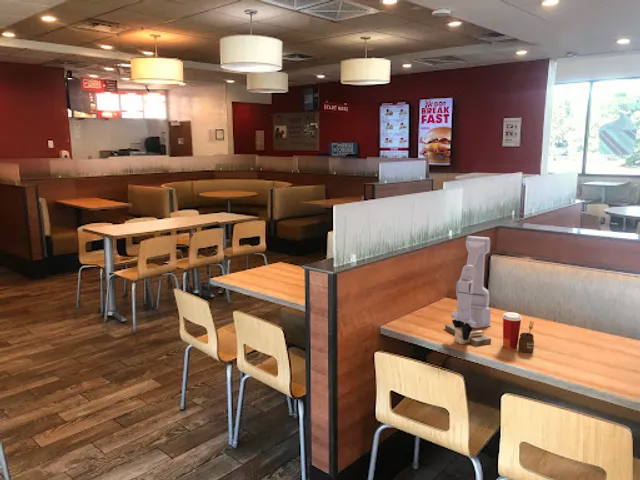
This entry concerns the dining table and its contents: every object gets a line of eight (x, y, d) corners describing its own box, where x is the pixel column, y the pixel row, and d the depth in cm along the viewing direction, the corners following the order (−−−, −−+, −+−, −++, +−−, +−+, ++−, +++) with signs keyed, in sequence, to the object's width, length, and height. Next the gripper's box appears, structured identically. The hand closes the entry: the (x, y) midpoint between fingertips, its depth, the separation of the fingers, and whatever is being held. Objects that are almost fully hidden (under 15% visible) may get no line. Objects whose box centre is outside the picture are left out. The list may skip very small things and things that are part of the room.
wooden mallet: (479, 336, 226) (480, 323, 225) (485, 339, 222) (486, 326, 221) (454, 340, 221) (455, 327, 220) (460, 344, 217) (461, 330, 216)
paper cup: (520, 344, 217) (522, 313, 215) (519, 351, 211) (521, 318, 208) (501, 341, 221) (503, 310, 218) (499, 348, 214) (501, 316, 211)
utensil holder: (515, 350, 212) (517, 322, 210) (523, 346, 215) (525, 319, 213) (528, 354, 207) (530, 326, 205) (536, 350, 211) (538, 323, 209)
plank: (459, 326, 240) (459, 322, 239) (490, 343, 219) (491, 338, 219) (445, 328, 237) (445, 324, 236) (475, 345, 216) (475, 341, 216)
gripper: (445, 303, 223) (444, 333, 225) (466, 313, 209) (465, 345, 212) (459, 302, 225) (458, 331, 227) (480, 311, 212) (479, 342, 214)
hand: (462, 337), depth 220 cm, fingers closed on wooden mallet, 4 cm apart
